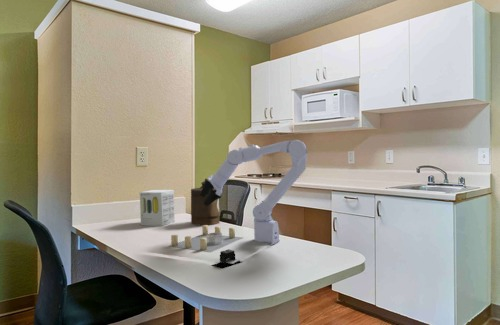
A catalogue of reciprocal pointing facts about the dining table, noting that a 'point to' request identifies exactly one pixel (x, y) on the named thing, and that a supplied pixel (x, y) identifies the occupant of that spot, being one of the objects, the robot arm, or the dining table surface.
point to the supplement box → (157, 207)
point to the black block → (223, 257)
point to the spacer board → (209, 246)
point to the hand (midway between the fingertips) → (203, 200)
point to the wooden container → (203, 209)
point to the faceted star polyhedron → (215, 238)
